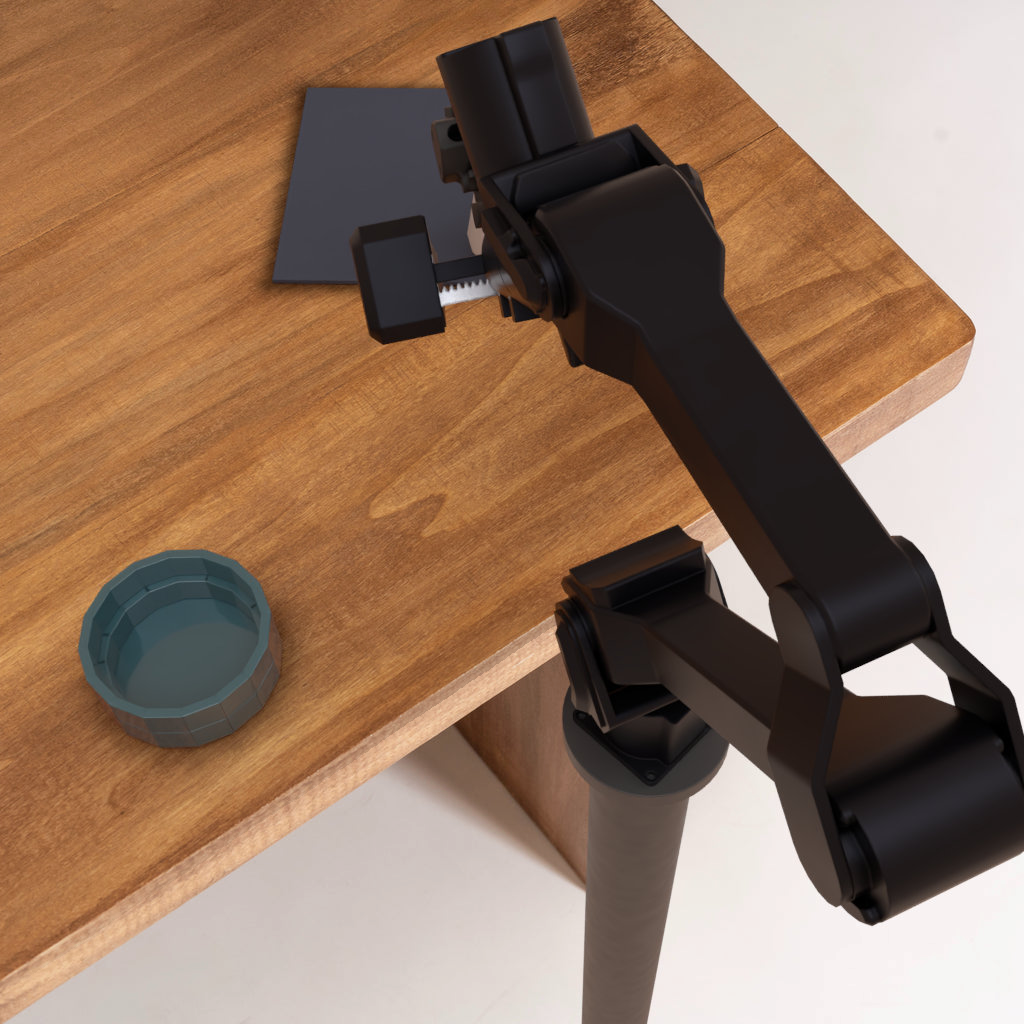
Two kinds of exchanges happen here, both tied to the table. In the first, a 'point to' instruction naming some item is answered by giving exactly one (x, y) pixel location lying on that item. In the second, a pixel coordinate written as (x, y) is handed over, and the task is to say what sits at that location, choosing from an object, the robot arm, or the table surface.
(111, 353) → the table surface
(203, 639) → the blue-grey round bowl
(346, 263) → the cloth
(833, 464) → the robot arm
